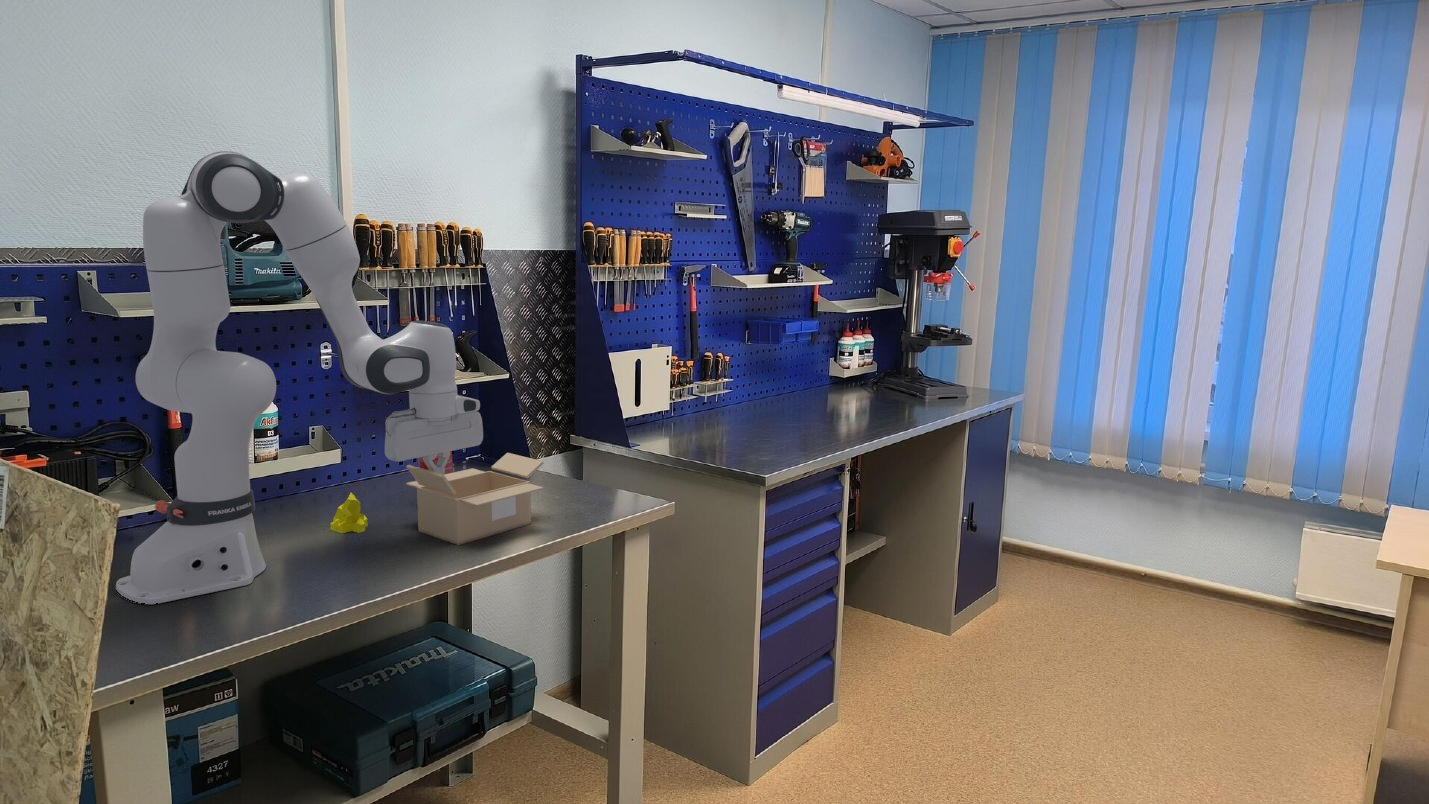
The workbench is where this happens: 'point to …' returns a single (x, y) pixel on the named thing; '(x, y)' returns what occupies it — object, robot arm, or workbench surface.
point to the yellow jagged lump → (349, 517)
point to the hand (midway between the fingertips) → (436, 475)
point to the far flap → (517, 465)
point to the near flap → (431, 479)
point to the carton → (474, 506)
